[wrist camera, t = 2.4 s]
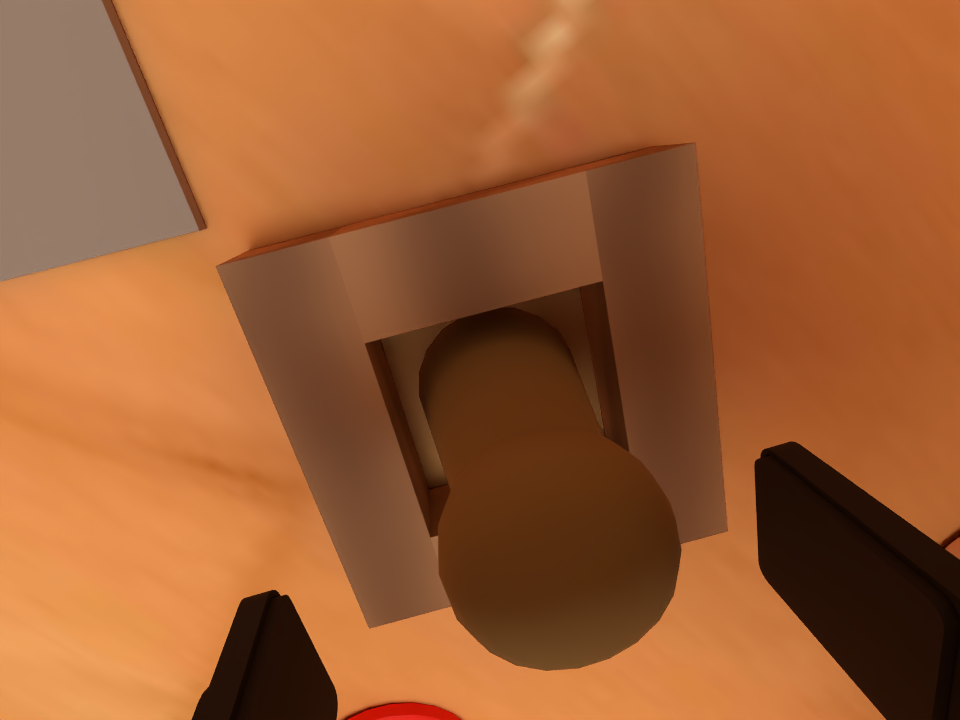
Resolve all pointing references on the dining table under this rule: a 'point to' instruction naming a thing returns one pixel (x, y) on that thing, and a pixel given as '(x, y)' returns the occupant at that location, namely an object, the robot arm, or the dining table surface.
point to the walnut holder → (471, 290)
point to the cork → (540, 500)
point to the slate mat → (80, 141)
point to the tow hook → (405, 713)
